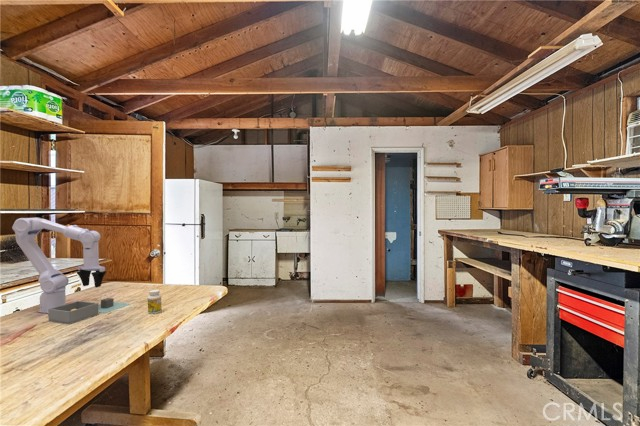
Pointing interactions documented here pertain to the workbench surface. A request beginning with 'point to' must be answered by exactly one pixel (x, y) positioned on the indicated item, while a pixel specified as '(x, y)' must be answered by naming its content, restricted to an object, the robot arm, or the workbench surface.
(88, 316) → the grey bin
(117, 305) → the teal lid
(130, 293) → the workbench surface
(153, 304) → the supplement bottle
